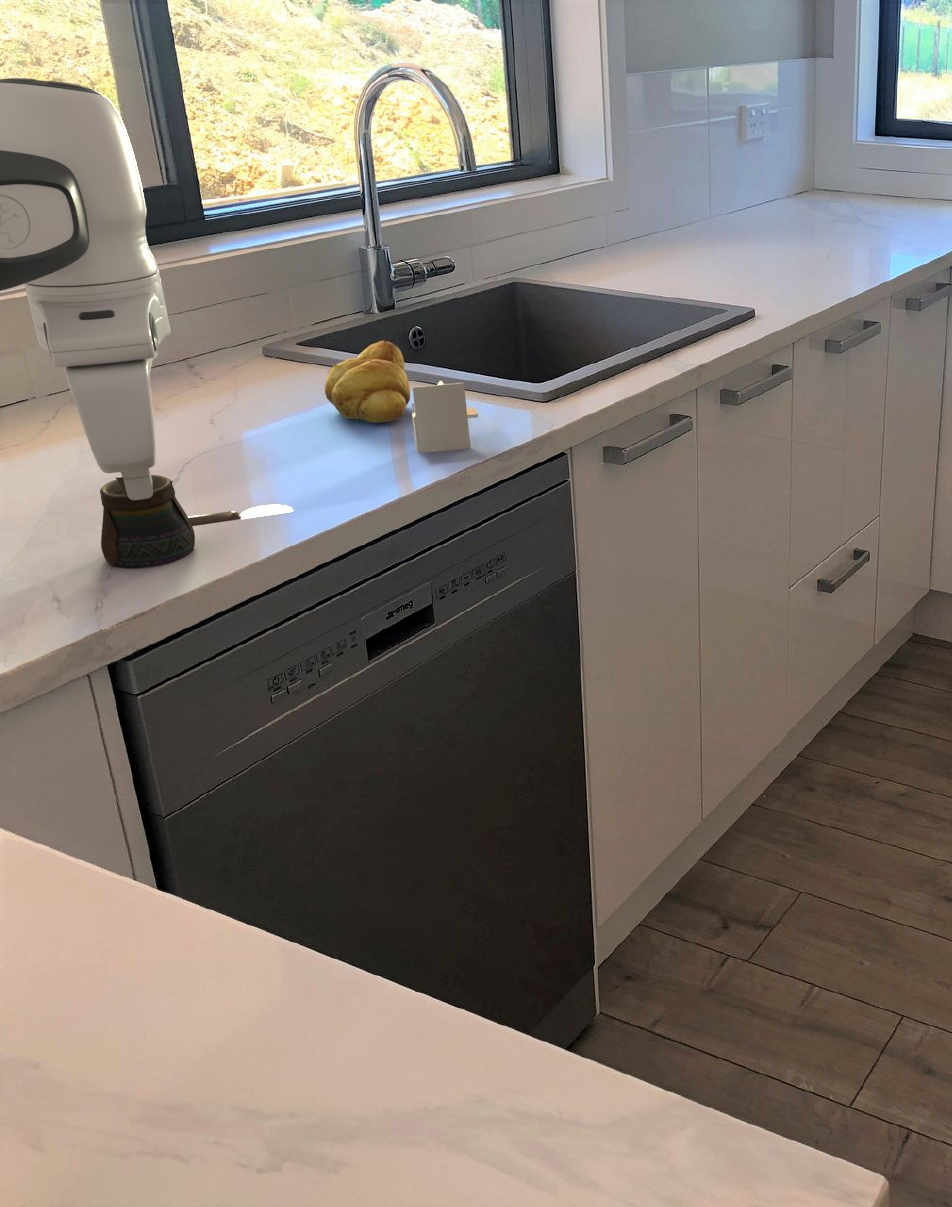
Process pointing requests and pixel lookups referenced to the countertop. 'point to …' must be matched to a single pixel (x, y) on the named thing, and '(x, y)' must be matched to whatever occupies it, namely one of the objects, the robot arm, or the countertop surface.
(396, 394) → the bread roll
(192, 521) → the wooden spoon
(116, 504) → the mate gourd
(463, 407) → the architectural model
